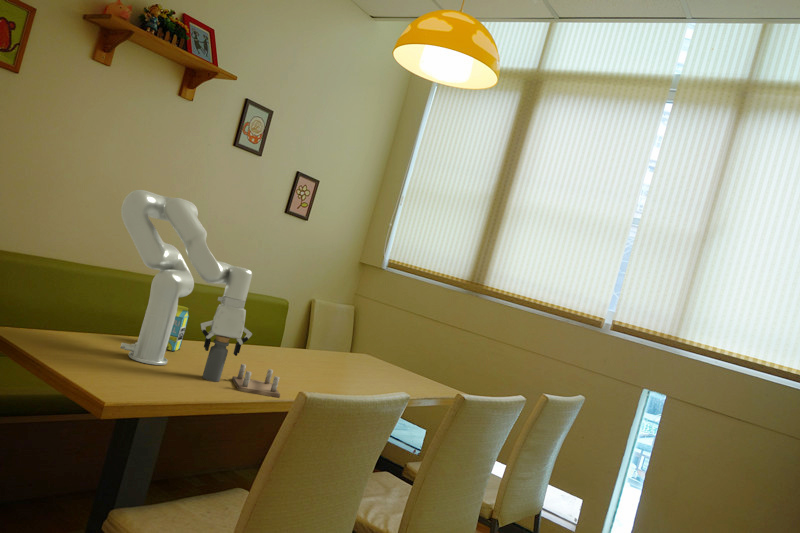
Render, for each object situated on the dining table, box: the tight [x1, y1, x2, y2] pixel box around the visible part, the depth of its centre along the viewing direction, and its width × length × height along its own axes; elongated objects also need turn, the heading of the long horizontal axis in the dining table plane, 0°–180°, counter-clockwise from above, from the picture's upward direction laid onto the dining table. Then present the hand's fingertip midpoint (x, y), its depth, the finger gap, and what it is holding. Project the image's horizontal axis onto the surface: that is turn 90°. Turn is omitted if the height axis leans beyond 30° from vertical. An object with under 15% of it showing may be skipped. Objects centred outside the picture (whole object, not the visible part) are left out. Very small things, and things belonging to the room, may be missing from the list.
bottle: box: [201, 335, 231, 383], centre depth 208 cm, size 6×6×15 cm
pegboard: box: [231, 363, 281, 398], centre depth 212 cm, size 14×14×6 cm
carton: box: [166, 304, 190, 353], centre depth 235 cm, size 7×8×18 cm
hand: (220, 352), depth 208 cm, fingers open, 9 cm apart
